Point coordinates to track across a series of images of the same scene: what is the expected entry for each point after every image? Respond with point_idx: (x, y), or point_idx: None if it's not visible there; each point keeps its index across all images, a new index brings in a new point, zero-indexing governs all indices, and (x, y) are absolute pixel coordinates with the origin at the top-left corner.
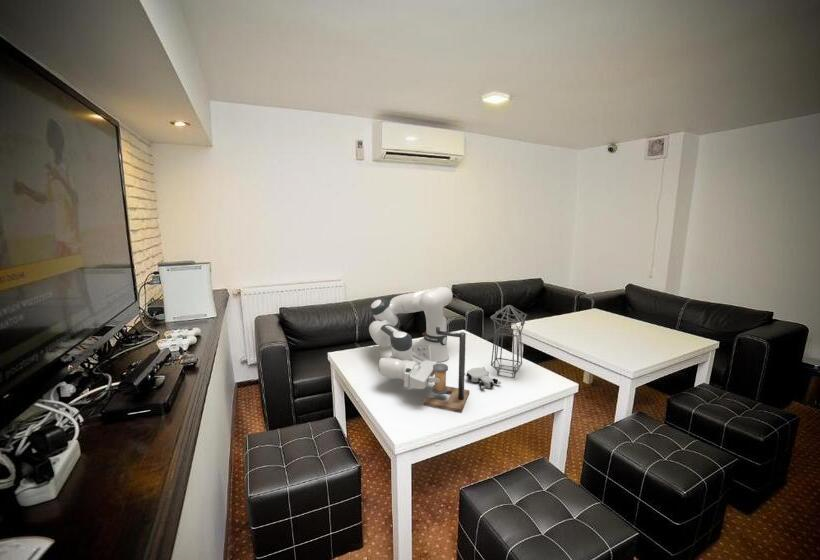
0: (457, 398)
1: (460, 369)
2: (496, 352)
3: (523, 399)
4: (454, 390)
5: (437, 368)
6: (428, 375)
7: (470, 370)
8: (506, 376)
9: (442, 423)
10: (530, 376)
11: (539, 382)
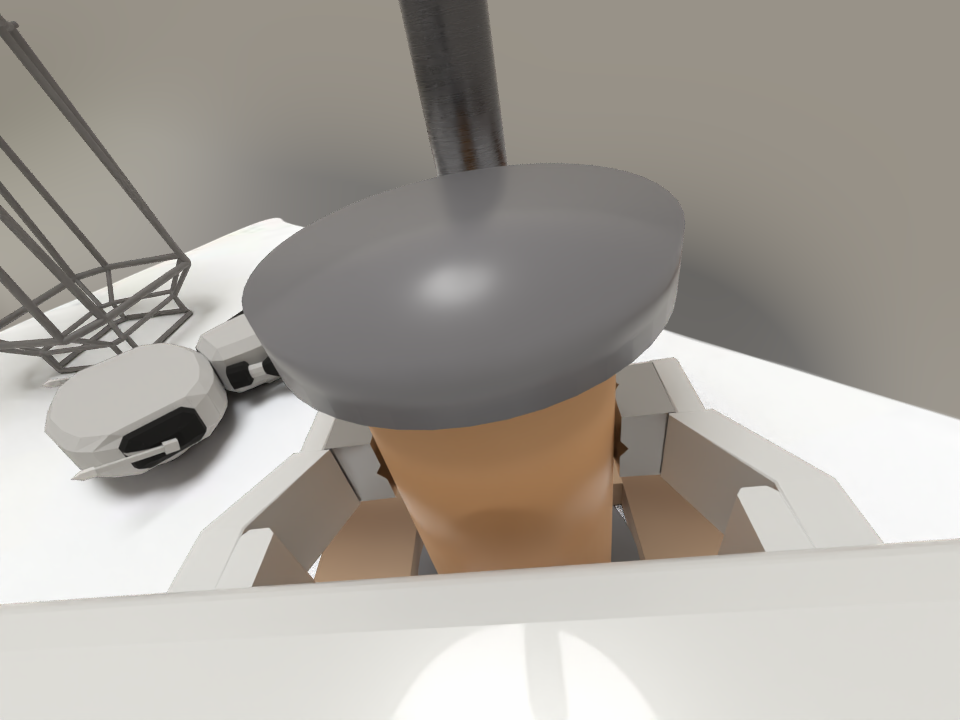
0: None
1: (497, 92)
2: None
3: None
4: None
5: (605, 222)
6: (860, 548)
7: (82, 425)
8: (172, 328)
9: (932, 444)
10: (190, 281)
11: (247, 258)
